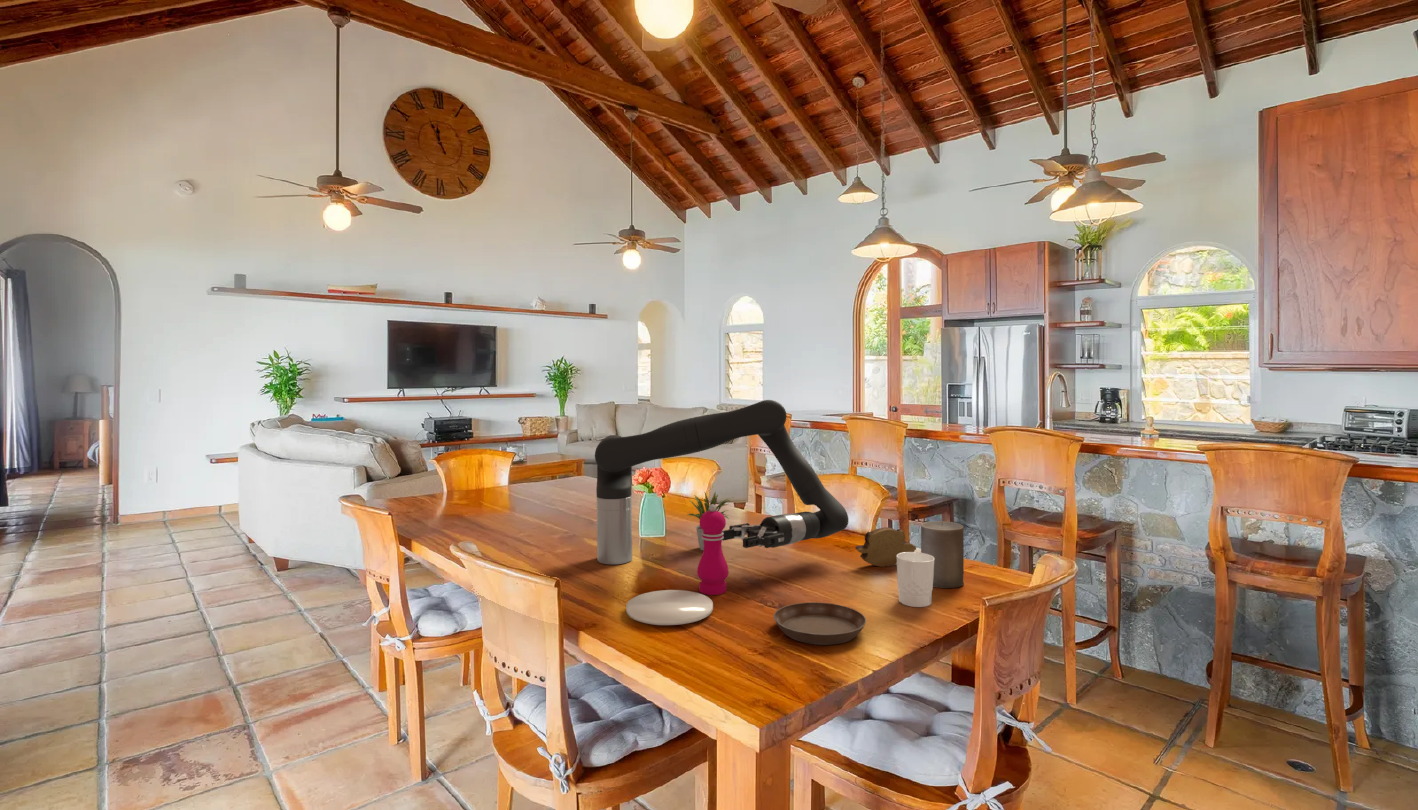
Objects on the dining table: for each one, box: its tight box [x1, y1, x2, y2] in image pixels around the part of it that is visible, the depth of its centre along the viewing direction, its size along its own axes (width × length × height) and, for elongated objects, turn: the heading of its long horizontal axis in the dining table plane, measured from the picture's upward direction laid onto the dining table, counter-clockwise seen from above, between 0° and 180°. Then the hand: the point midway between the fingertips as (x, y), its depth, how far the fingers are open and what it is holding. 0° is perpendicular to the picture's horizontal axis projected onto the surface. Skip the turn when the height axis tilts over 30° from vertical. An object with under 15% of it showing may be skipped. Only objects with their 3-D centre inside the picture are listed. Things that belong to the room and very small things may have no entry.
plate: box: [625, 589, 714, 626], centre depth 140 cm, size 18×18×2 cm
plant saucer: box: [773, 601, 867, 646], centre depth 130 cm, size 18×18×3 cm
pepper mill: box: [696, 504, 730, 596], centre depth 153 cm, size 7×7×20 cm
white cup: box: [896, 551, 935, 608], centre depth 145 cm, size 8×8×10 cm
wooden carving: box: [855, 526, 917, 568], centre depth 173 cm, size 16×5×10 cm, turn 108°
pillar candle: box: [920, 519, 965, 589], centre depth 158 cm, size 10×10×15 cm
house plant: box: [687, 490, 734, 551], centre depth 188 cm, size 14×14×16 cm
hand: (732, 539), depth 157 cm, fingers open, 8 cm apart
